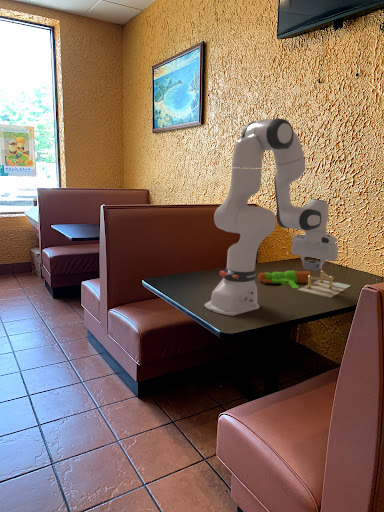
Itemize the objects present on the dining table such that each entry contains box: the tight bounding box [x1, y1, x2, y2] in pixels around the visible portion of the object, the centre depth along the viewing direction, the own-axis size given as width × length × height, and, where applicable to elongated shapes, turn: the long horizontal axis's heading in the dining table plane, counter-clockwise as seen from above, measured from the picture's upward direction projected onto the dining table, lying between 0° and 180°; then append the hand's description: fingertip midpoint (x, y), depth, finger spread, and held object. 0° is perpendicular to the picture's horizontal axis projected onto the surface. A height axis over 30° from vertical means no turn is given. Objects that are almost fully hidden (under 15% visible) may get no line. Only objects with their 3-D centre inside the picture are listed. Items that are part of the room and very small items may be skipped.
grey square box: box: [303, 259, 321, 272], centre depth 168 cm, size 6×6×3 cm
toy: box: [257, 270, 313, 289], centre depth 178 cm, size 7×25×15 cm
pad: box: [332, 282, 352, 290], centre depth 177 cm, size 7×7×1 cm
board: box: [297, 280, 348, 298], centre depth 173 cm, size 25×15×1 cm, turn 139°
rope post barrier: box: [307, 269, 335, 289], centre depth 173 cm, size 16×9×6 cm, turn 139°
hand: (311, 267), depth 168 cm, fingers closed on grey square box, 5 cm apart
